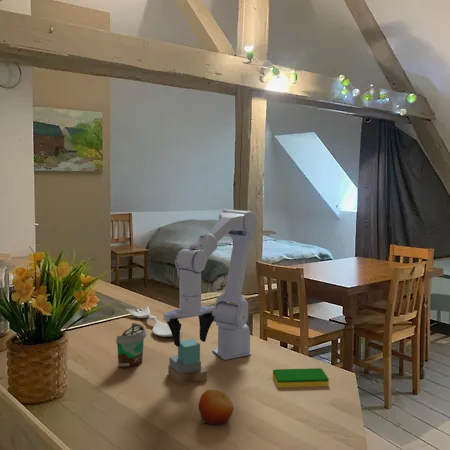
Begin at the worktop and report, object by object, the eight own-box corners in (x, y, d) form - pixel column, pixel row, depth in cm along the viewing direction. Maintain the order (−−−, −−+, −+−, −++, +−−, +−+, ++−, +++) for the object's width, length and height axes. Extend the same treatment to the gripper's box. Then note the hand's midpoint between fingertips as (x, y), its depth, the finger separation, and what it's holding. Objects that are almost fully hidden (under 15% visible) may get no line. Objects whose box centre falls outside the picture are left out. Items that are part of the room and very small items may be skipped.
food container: (137, 372, 143) (137, 338, 141) (116, 370, 144) (116, 336, 142) (152, 355, 155) (152, 323, 153) (132, 354, 156) (132, 322, 154)
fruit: (189, 406, 122) (207, 378, 121) (218, 422, 123) (236, 394, 122) (190, 424, 114) (209, 394, 113) (220, 440, 115) (239, 411, 114)
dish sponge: (328, 387, 137) (329, 379, 136) (277, 389, 135) (277, 380, 135) (321, 376, 144) (321, 367, 143) (272, 377, 142) (272, 369, 142)
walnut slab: (194, 370, 146) (194, 360, 146) (206, 381, 139) (206, 371, 139) (168, 375, 142) (168, 365, 142) (179, 387, 135) (179, 376, 135)
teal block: (193, 356, 142) (193, 338, 142) (199, 362, 138) (200, 344, 138) (178, 358, 140) (178, 341, 140) (184, 365, 136) (184, 347, 136)
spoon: (147, 312, 197) (147, 303, 197) (186, 338, 170) (186, 328, 170) (124, 315, 192) (124, 306, 192) (161, 343, 166) (161, 333, 165)
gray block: (191, 361, 145) (191, 352, 145) (200, 370, 139) (201, 361, 139) (169, 365, 142) (169, 356, 142) (178, 374, 136) (178, 365, 136)
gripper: (207, 287, 144) (207, 333, 146) (159, 293, 137) (159, 342, 139) (219, 293, 138) (219, 342, 140) (169, 300, 131) (169, 351, 133)
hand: (189, 342), depth 139 cm, fingers open, 7 cm apart
